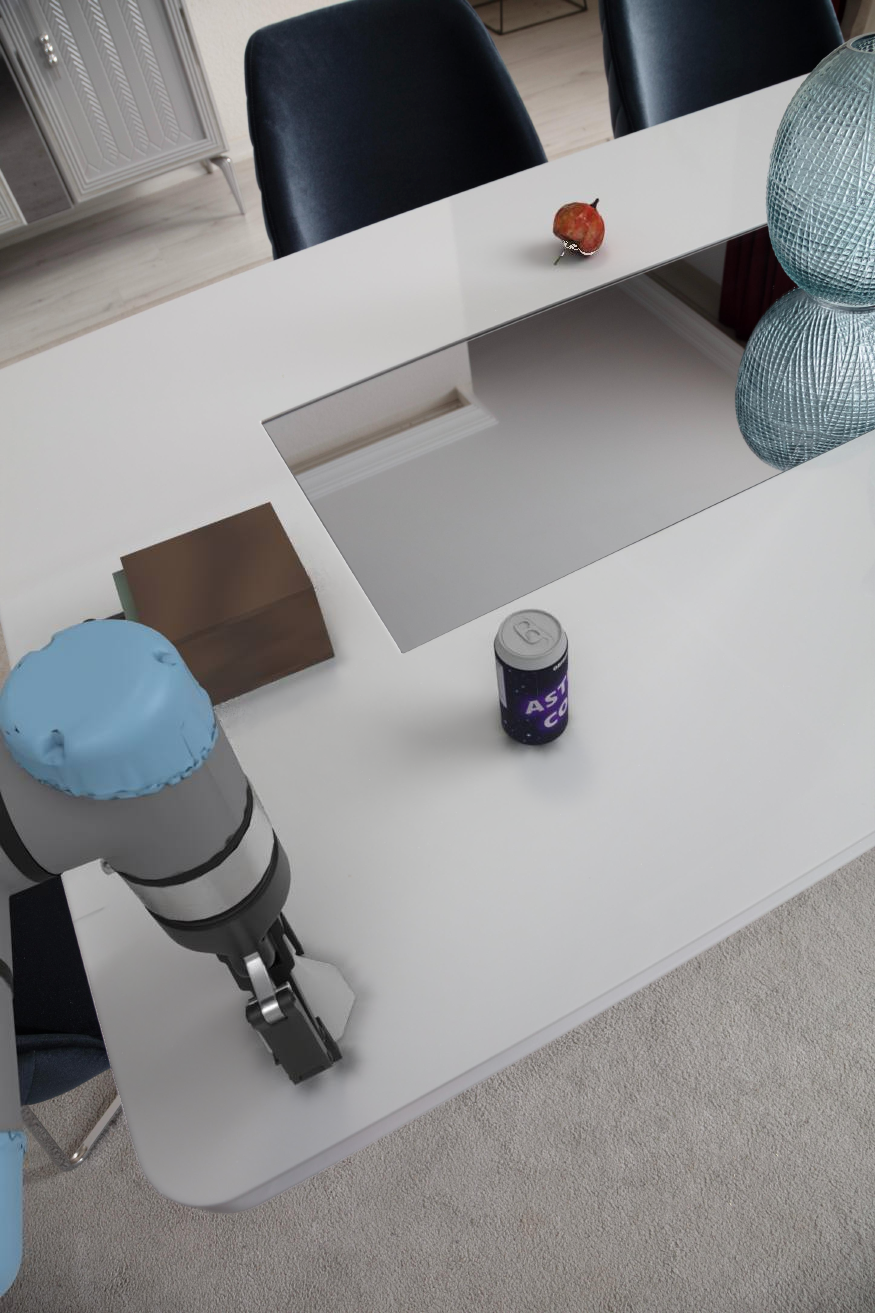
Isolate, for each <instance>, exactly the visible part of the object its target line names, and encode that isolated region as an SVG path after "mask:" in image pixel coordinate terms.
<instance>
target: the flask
mask: <svg viewBox="0 0 875 1313" xmlns="http://www.w3.org/2000/svg"><path fill="white" fill-rule="evenodd" d="M284 936H285V938H286V940H287V942H288V944H289V946H290V948H291V952H292V955H293V958H294V962H295V966H294V968H293V969H292V972H293V974H294V976H295V978H296V980H297V982H298V984H299V986H300V988H301V990H302V992H303V994H304V996H305V998H306V1001H307V1003H308V1005H309V1007H310V1009H311V1011H312V1013H313V1015H314V1017H315V1018H316V1017H318V1016H319V1017H320V1019H321V1021H322V1022H323V1024H324V1025H325V1027H326V1029H327V1030H328V1032H329V1033H330V1035H331V1036H332V1038H333V1040H334V1041H335V1042H337V1041H338V1040H339V1039H341V1038H342V1037H343V1035H344V1032H345V1028H346V1026H347V1022H348V1020H349V1017H350V1014H351V1011H352V1008H353V1005H354V1002H355V999H356V995H355V993H354V991H353V990H352V988H351V987H350V986H349V984H348V983H347V981H346V980H345V978H344V977H343V975H342V974H341V973H340V972H339V970H338V969H337V967H336V965H334V964H330V963H327V962H323V961H319V960H315V959H311V958H308V957H303V956H297V955H295V953H296V950H295V949H294V947H293V946H292V944H291V943H290V941H289V940H288V938H287V937H286V935H285V934H284ZM275 944H276V943H275ZM277 950H278V947H277V945H276V951H277ZM255 1031H256V1033H257V1035H258V1036H259V1038H260V1040H261V1041H262V1043H263V1045H264V1047H265V1048H266V1050H267V1051H268V1053H269V1054H273V1053H272V1050H271V1049H270V1047H269V1045H268V1044H267V1042H266V1041H265V1039H264V1038H263V1036H262V1035H261V1033H260V1032H258V1031H257V1030H255Z"/></svg>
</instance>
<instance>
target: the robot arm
mask: <svg viewBox="0 0 875 1313" xmlns="http://www.w3.org/2000/svg"><path fill="white" fill-rule="evenodd" d="M103 619H104V620H102V619H96V620H95V621H89V622H84V623H83V622H81V623H77V624H74V625H71V626H69V627H66V628H64V629H61V630H60V631H58V632H55V633H53V634H52V635H51V638H50V641H49V642H48V643H47V644H46V645H45V646H43V647H42V648H41V649H39V650H33V651H28V652H27V653H25V655H24V656H22V657H21V658H20V659H19V660H18V661H17V663H16V664H15V665H14V667H13V668H12V669H11V671H10V672H9V673H8V675H7V677H6V678H5V680H4V683H3V685H2V687H1V691H0V1299H1V1298H2V1297H3V1295H4V1294H5V1293H7V1291H9V1289H10V1288H11V1287H12V1285H13V1283H14V1281H15V1280H16V1278H17V1276H18V1274H19V1271H20V1268H21V1263H22V1259H23V1255H24V1254H23V1252H24V1251H23V1250H24V1249H23V1247H24V1245H23V1244H24V1243H23V1241H24V1240H23V1236H24V1234H23V1233H24V1231H23V1230H24V1228H23V1224H24V1222H23V1219H24V1218H23V1217H24V1214H23V1213H24V1212H23V1211H24V1210H23V1209H24V1208H23V1206H24V1203H23V1202H24V1201H23V1190H24V1189H23V1186H24V1184H23V1180H24V1176H23V1174H24V1173H23V1172H24V1171H23V1170H24V1169H23V1168H24V1167H23V1166H24V1163H23V1162H24V1161H23V1159H24V1157H25V1156H26V1154H27V1148H28V1147H27V1144H28V1141H27V1140H28V1139H27V1132H25V1131H23V1129H24V1128H23V1118H22V1117H23V1116H22V1104H21V1093H20V1079H19V1078H20V1077H19V1068H18V1066H19V1065H18V1055H17V1042H16V1029H15V1018H14V1005H13V1004H14V1003H13V1000H14V968H13V952H12V951H13V950H12V930H11V916H10V915H11V914H10V897H11V896H12V895H16V894H17V893H20V892H22V891H25V890H27V889H29V888H32V887H35V886H37V885H40V884H41V883H44V882H46V881H49V880H51V879H54V878H56V877H57V878H58V877H60V876H62V875H63V874H64V873H66V872H68V871H71V870H74V869H77V868H80V867H81V866H84V865H86V864H90V863H92V862H95V861H98V860H100V861H99V862H100V867H101V871H102V872H103V873H104V874H105V875H107V876H110V875H113V874H115V873H116V874H117V875H118V876H119V877H120V878H121V879H122V881H123V882H124V883H125V884H126V885H127V886H128V888H129V889H130V890H131V891H132V892H133V894H134V895H135V896H136V897H137V899H138V900H139V901H140V902H141V903H142V904H143V907H144V908H145V909H146V911H147V912H148V913H149V915H150V916H151V918H153V919H154V920H155V922H156V923H157V924H158V926H160V928H161V929H162V930H163V931H164V933H165V934H166V935H167V936H168V937H169V938H170V939H171V940H172V941H173V942H175V943H176V944H177V945H179V946H181V947H182V948H184V949H187V950H189V951H193V952H197V953H203V954H211V955H215V956H216V958H217V959H218V961H219V962H220V963H222V964H225V965H226V966H227V968H228V970H229V972H230V974H231V976H232V978H233V979H234V981H235V983H236V985H237V987H238V989H240V991H243V992H251V993H252V996H253V997H250V998H249V999H247V1000H246V1003H247V1004H246V1006H245V1010H244V1012H245V1020H246V1021H247V1023H248V1024H250V1026H251V1027H252V1029H253V1030H255V1031H256V1030H257V1031H258V1032H260V1033H261V1035H262V1036H263V1038H264V1039H265V1041H266V1042H267V1044H268V1045H269V1047H270V1049H271V1050H272V1053H271V1054H272V1056H273V1060H274V1064H275V1066H280V1065H281V1066H282V1068H283V1070H284V1071H285V1073H286V1075H287V1076H288V1078H289V1081H291V1082H292V1084H293V1085H294V1086H297V1085H299V1084H301V1083H303V1082H305V1081H307V1080H309V1079H311V1078H313V1077H315V1076H317V1075H319V1074H321V1073H323V1072H325V1071H327V1070H328V1069H331V1068H332V1067H334V1063H335V1062H337V1061H340V1060H341V1059H343V1056H342V1053H341V1050H340V1048H339V1046H338V1044H337V1043H336V1041H334V1040H333V1038H332V1036H331V1035H330V1033H329V1032H328V1030H327V1029H326V1027H325V1025H324V1024H323V1022H322V1021H321V1019H320V1017H319V1016H318V1017H316V1018H315V1017H314V1015H313V1013H312V1011H311V1009H310V1007H309V1005H308V1003H307V1001H306V998H305V996H304V994H303V992H302V990H301V988H300V986H299V984H298V982H297V980H296V978H295V976H294V974H293V972H292V969H293V968H294V966H295V962H294V958H293V955H292V952H291V948H290V946H289V944H288V942H287V940H286V938H285V936H284V934H285V935H286V937H287V938H288V940H289V941H290V943H291V944H292V946H293V947H294V949H295V950H296V953H295V955H297V956H300V957H302V955H305V952H304V949H303V946H302V944H301V942H300V940H299V939H298V937H297V935H296V934H295V932H294V930H293V928H292V926H291V924H290V923H289V921H288V919H287V918H286V916H285V914H284V913H283V911H282V910H283V909H284V908H285V905H286V902H287V900H288V896H289V894H290V893H289V892H290V888H291V880H292V874H291V866H290V862H289V858H288V856H287V855H288V854H287V853H286V851H285V848H284V847H283V845H282V842H280V839H279V837H278V835H277V832H275V829H274V828H273V825H272V822H271V819H270V817H269V816H268V813H267V811H266V809H265V807H264V805H263V803H262V800H261V799H260V797H259V795H258V793H257V791H256V789H255V788H254V785H253V784H252V781H251V779H250V778H249V777H248V776H247V774H246V773H245V772H244V771H243V769H242V766H241V763H240V762H239V759H238V757H237V755H236V753H235V751H234V749H233V747H232V745H231V743H230V740H229V738H228V736H227V735H226V732H225V730H224V728H223V725H222V724H221V721H220V720H219V718H218V715H217V714H216V711H215V709H214V706H212V703H211V700H210V698H209V696H208V694H207V692H206V691H205V690H204V689H203V688H202V687H200V686H199V682H197V681H196V680H195V679H194V677H193V675H192V674H191V672H190V671H189V669H188V667H187V666H186V664H185V663H184V661H183V659H182V658H181V656H180V655H179V653H178V651H177V650H176V648H175V647H174V646H173V645H172V643H171V642H170V641H169V640H167V639H166V638H165V637H164V636H163V635H162V634H160V633H159V632H157V631H155V630H154V629H152V628H149V627H147V626H145V625H142V624H139V623H136V622H132V621H127V620H113V619H105V618H103ZM275 943H276V944H275ZM276 945H277V947H278V950H277V951H276ZM257 1031H256V1032H257Z"/></svg>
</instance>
